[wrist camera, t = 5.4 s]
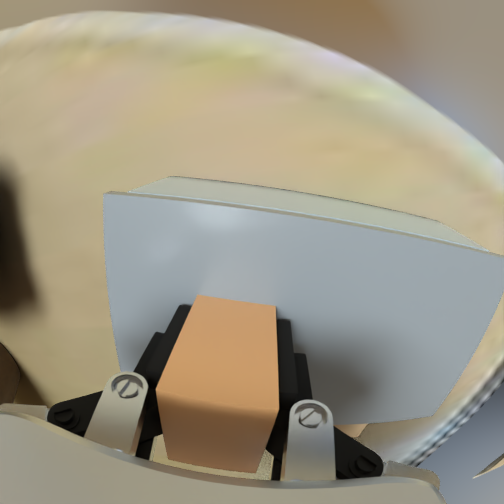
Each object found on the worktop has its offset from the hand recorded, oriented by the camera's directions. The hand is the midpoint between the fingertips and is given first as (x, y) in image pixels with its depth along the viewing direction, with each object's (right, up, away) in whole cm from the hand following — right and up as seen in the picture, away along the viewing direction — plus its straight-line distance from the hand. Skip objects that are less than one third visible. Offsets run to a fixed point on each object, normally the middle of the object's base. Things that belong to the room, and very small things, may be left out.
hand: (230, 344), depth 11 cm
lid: (+4, 0, +1) cm, 4 cm away
